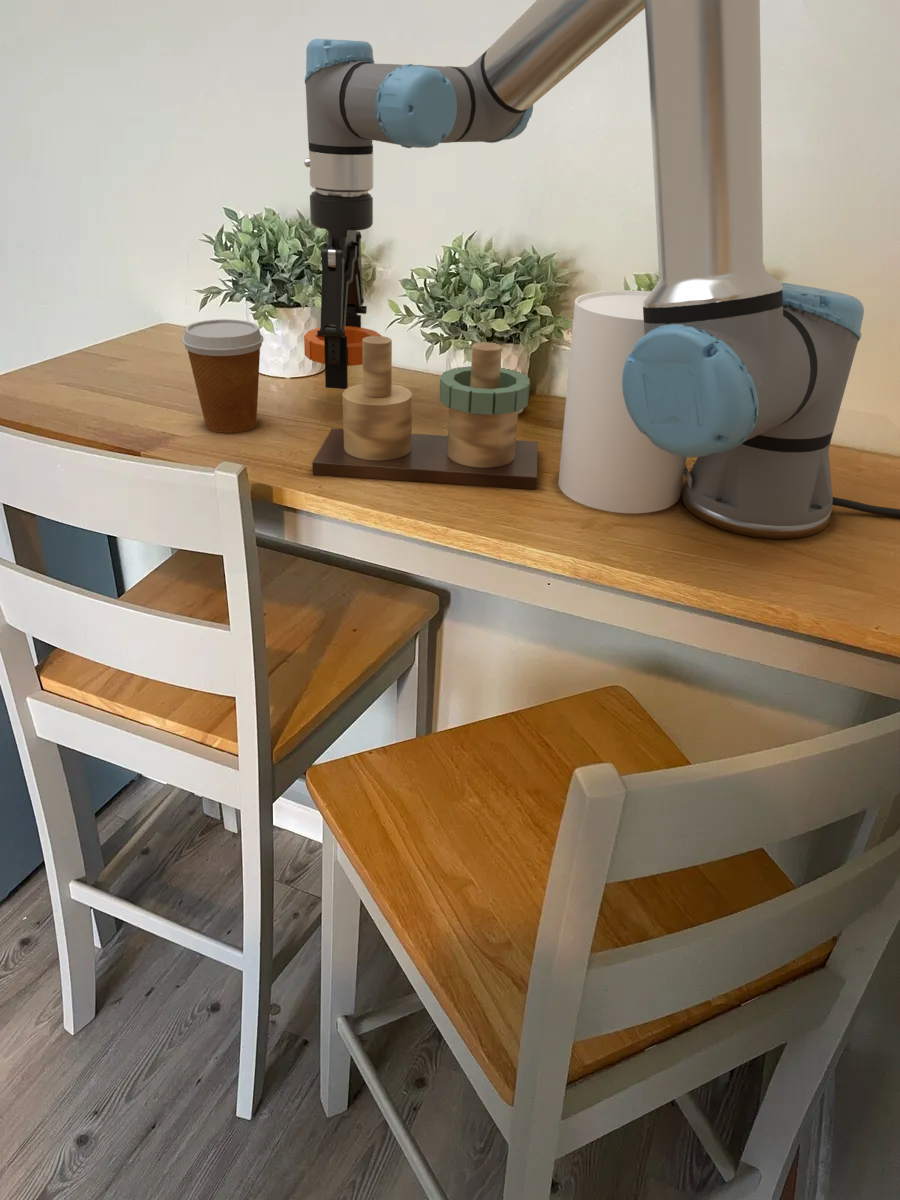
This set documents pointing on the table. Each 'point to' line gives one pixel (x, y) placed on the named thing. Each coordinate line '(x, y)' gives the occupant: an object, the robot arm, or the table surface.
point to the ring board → (392, 452)
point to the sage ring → (484, 392)
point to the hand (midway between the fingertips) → (344, 374)
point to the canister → (610, 415)
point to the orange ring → (354, 345)
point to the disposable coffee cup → (225, 371)
